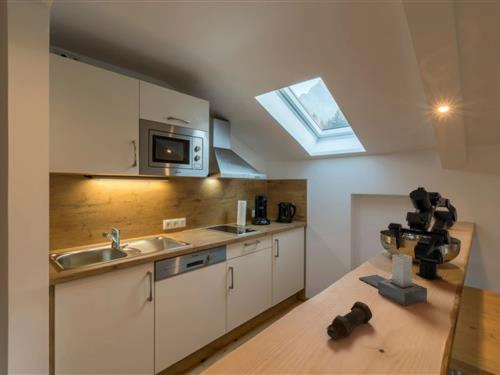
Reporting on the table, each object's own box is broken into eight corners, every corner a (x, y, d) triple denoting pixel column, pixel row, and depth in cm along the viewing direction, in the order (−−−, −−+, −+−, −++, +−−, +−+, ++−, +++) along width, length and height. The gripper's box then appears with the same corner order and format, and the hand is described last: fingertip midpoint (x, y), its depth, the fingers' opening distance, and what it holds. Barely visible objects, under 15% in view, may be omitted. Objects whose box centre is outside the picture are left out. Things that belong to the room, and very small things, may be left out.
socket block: (399, 288, 91) (399, 277, 91) (426, 300, 81) (427, 288, 81) (377, 292, 87) (378, 281, 87) (404, 306, 78) (404, 293, 78)
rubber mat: (376, 276, 102) (376, 274, 102) (396, 284, 94) (396, 283, 94) (358, 279, 99) (358, 277, 99) (377, 288, 91) (377, 286, 91)
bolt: (328, 346, 63) (360, 323, 72) (344, 346, 59) (376, 321, 68) (318, 321, 65) (351, 302, 74) (333, 319, 61) (365, 299, 70)
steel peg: (400, 293, 87) (401, 253, 86) (411, 298, 83) (412, 256, 83) (391, 294, 86) (392, 254, 85) (402, 300, 82) (403, 257, 81)
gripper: (390, 202, 99) (377, 233, 92) (449, 205, 85) (438, 243, 78) (398, 219, 104) (386, 251, 98) (454, 226, 90) (445, 263, 83)
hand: (411, 251), depth 89 cm, fingers open, 9 cm apart
